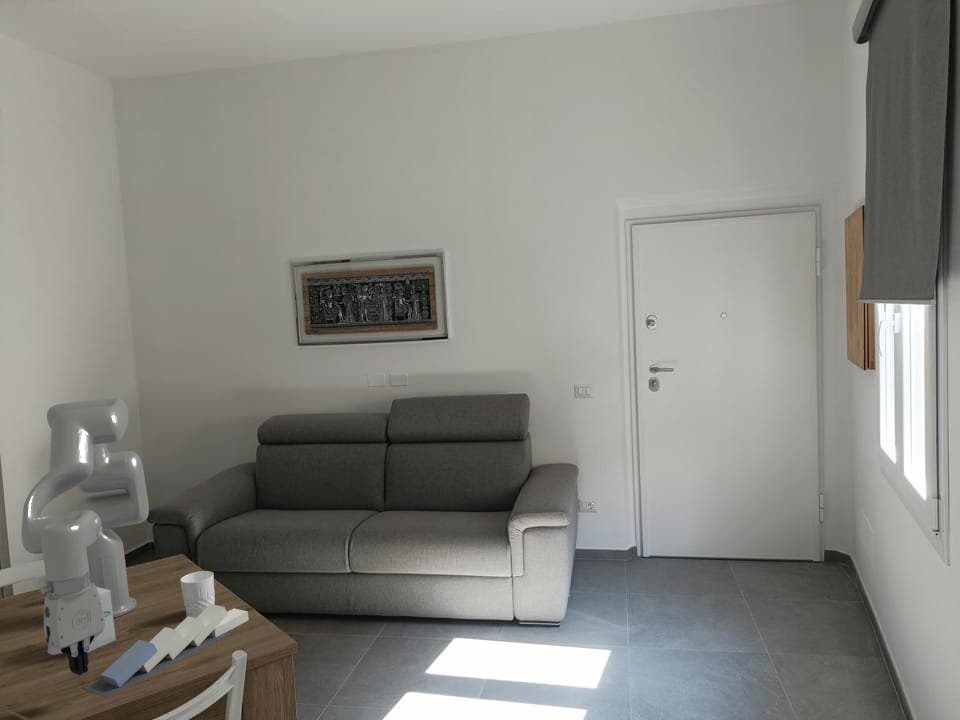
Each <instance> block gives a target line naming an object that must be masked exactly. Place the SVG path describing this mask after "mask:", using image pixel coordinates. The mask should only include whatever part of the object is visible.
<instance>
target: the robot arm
mask: <svg viewBox="0 0 960 720" xmlns="http://www.w3.org/2000/svg"><path fill="white" fill-rule="evenodd" d="M129 416H130V415H129V409H128V407H127V404H126V403H125V401H124V400H123V399H120V398H104V399H96V400H95V399H94V400H84V401H83V400H81V401H71V402H64V403H58V404H54V405H52V406H51V407H49V408H48V410H47V412H46V420H47V424H48V426H49V427H50V428H49V429H51V430H50V431H51V432H50V449H49V450H50V451H49V452H50V453H49V470H48V472H47V473H46V474H45V475H44V476H42V477H41V478H40V480H38V481H37V483H36V484H35V485H34V486H33V487H32V489H31V490H30V492H29V493H28V495H27V497H26V499H25V501H24V505H23V508H22V518H21V519H22V521H21V542H22V543H21V544H22V545H23V548H24V549H25V550H26V552H28V553H30V554H34V555H36V554H37V555H38V554H39V555H40V554H42V556H43V562H44V564H43V565H44V571H45V579H46V580H45V585H44V586H43V587H40V594H41V595H45V594H47V595H46V596H45V598H44V604H43V630H44V631H43V632H44V634H43V635H44V639H45V643H46V645H47V654H49V655H52V656H53V655H54V656H55V655H60V654H64V655H66V656H67V659H68V666H69V671H70V672H71V673H73V674H75V675H78V676H82V675H83V674H84V673H87V672H89V667H88V665H89V655H88V653H87V651H89V649H90V644H91V643H92V641H93V639H94V638H96V637H97V636H98V635H100V634H101V633H102V632H103V629H104V627H105V618H104V613H103V608H102V603H101V599H100V596H99V593H98V590H97V588H96V587H99V588H103V589H108V590H110V593H111V602H112V611H113V619H115V618H118V617H120V616H121V617H122V616H124V615H126V614H128V613H130V612H131V611H134V609H135V608H136V607H137V600H136V598H135V597H134V598H133V597H130V594H129V593H130V591H129V585H128V576H127V566H126V559H125V557H126V556H125V550H124V543H123V540H122V538H121V537H120V535H118V534H117V533H116V532H115V531H113V529H114V528H120V527H126V526H132V525H137V524H141V523H144V522H145V521H146V520H147V519H148V517H149V515H150V514H149V511H150V507H149V506H150V505H149V504H150V503H149V497H148V491H147V484H146V478H145V477H146V476H145V471H144V466H143V462H142V459H141V457H140V455H139V454H138V453H137V452H135V451H132V450H124V451H117V452H109V449H108V445H107V444H110V443H117V442H119V441H120V440H122V438H123V437H124V435H125V433H126V431H127V428H128V425H129ZM75 487H76V488H77V490H79V491H80V492H82V493H84V494H85V493H87V494H86V495H84V496H81V497H80V498H79V499H77V500H76V502H75V503H74V506H73V511H67V512H66V511H65V512H59V513H52V514H45V515H41V514H42V512H43V511H44V509H45V508H46V506H47V505H48V504H49V503H50V502H51V501H52V500H54V499H55V498H58V497H59V496H61V495H63V494H64V493H66V492H68V491H70V490H72V489H73V488H75Z"/></svg>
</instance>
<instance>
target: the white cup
mask: <svg viewBox="0 0 960 720" xmlns="http://www.w3.org/2000/svg"><path fill="white" fill-rule="evenodd" d="M214 576H215V575H214V572H213V571H209V570H202V571H195V572H190V573H188V574H186V575H184V576H182V577H181V578H180V579H179V580H180V587H181V592H182V599H183V604H184V608H185V614H186V618H187V617H188V616H189V617H193V618H197V617H198V616H199V615H200V614H201V613H202V612H203V611H204V610H205V609H206V608H207V607H208V606H209V605H210V604H213V605H216V604H215V601H216V598H215V596H216V595H215V594H216V593H215V578H214Z"/></svg>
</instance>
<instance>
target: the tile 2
mask: <svg viewBox="0 0 960 720" xmlns="http://www.w3.org/2000/svg"><path fill="white" fill-rule="evenodd" d="M174 629H175V628H171V627H166V626H165V627H163V629H161V630H160V631H159V632H158V633H157V634H156V635H155V636H154V637H152V639H151V640H149V643H153V644H154V645H155V647H156V649H157V651H158V652H157V653H156V654H155V655H153V656H152V657H151V658H150V659H149V660H148V661H147V662H146V663H145V664H144V665H143V666H142V667H141V668H140V669H139V670H141V671H144V672H147V673H148V672H149V671H150V670H151V669H152V668H153V667H154V666H156V665H157V664H158V663H159V662H160V661H161V660H162V659H163V658H164V657H165V656H166V655H167V654H168V653H169V652H170V651H171V650H172V649H173V648H174V647H175V646H176V645H177V644H178V643H179V642H180V641H181V640H182V639H183V637H182V635H181V633H180V631H178V630H174Z"/></svg>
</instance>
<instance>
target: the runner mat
mask: <svg viewBox="0 0 960 720" xmlns="http://www.w3.org/2000/svg"><path fill="white" fill-rule="evenodd" d="M230 634H231V632H230V631H227V632H225V633H223V634H221V635H219V636H217V637H212V636H207V637H206V638H205V640H204V641H203V642H202V643H201V644H200V645H199V646H198V647H197V646H194V645H190V644H188V645H187V646H186V647H185V648H184V649H183V650H182V651H181V652H180V653H179V654H178V655H177V656H176V657H175V658H174V659H173V660H172V659H168V658H165V657H164V658H163V659H162V660H161V661H160V662H159V663H158V664H157V665H156V666H154V667H153V668H152V669H151V670H150V671H149V672H148V673H147V672H144V671H141V670H138V671H137V672H136V673H134V674H133V675H132V676H131V677H130V678H129V679H128V680H127V681H126V682H125V683H124V684H123V685H122V686H121V687H117V686H114V685H111V684H108V683H105V681H104V679H103V678H102V677H101V678H99V679H98V680H95V681H94V682H92V683H90V684H87V685H85V686H84V687H83V688H82V689H84V690H85V691H89V692H92V693H95V694H97V695H100V696H103V697H105V698H111V697H112V696H115V695H117V694H119V693H120V692H122V691H124V690H126V689H128V688H130V687H131V686H134V685H135V684H138V683H139V682H141V681H143V680H144V679H147V678H149V677H151V676H152V675H154V674H156V673H158V672H160V671H162V670H163V669H166V668H168V667H170V666H171V665H174V664H175V663H177V662H179V661H181V660H183V659H185V658H186V657H189V656H190V655H192V654H194V653H196V652H199V650H202V649H204V648H206V647H207V646H209V645H211V644H213V643H215V642H217V641H218V640H220V639H222V638H224V637H226V636H229V635H230Z"/></svg>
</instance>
